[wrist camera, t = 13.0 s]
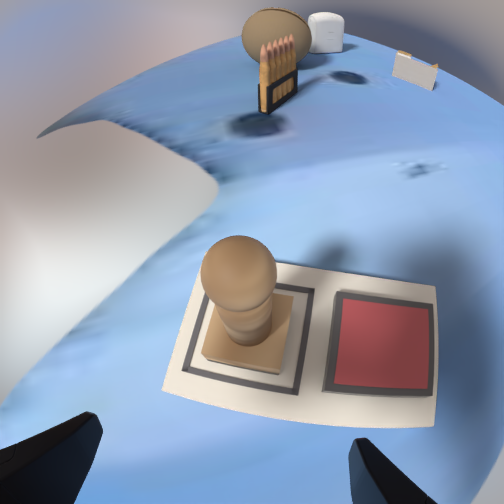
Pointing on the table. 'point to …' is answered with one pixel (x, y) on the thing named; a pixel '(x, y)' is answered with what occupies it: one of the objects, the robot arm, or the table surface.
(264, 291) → the stamp
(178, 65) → the table surface
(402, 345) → the ink pad
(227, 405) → the stamping board
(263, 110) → the ammunition clip
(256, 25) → the brown grooved ball
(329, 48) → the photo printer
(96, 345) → the table surface
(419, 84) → the model
